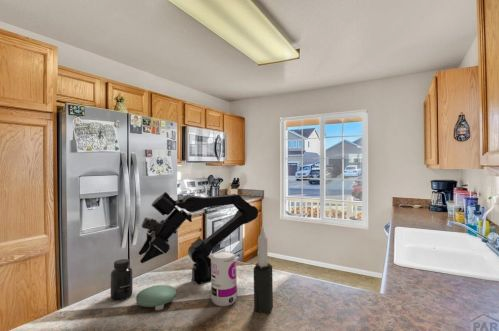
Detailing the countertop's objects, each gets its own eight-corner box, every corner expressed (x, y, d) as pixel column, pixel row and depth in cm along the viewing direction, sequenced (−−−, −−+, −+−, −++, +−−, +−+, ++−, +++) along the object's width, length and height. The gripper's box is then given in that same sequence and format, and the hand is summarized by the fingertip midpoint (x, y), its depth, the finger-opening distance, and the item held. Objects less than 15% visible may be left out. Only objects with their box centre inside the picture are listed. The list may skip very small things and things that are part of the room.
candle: (273, 305, 83) (272, 225, 83) (269, 314, 78) (268, 229, 78) (258, 303, 84) (257, 224, 84) (253, 311, 80) (251, 228, 80)
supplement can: (241, 297, 88) (240, 252, 88) (228, 309, 81) (228, 260, 81) (220, 292, 92) (219, 249, 92) (206, 304, 84) (206, 257, 84)
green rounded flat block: (170, 290, 94) (169, 282, 94) (180, 305, 84) (180, 295, 84) (133, 299, 88) (133, 290, 88) (139, 317, 77) (139, 307, 77)
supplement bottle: (124, 302, 86) (123, 265, 86) (105, 300, 88) (105, 264, 88) (137, 292, 93) (136, 258, 93) (119, 290, 94) (119, 257, 94)
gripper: (152, 206, 104) (122, 237, 99) (158, 213, 87) (122, 252, 82) (173, 223, 107) (144, 255, 102) (183, 234, 90) (149, 272, 85)
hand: (140, 258), depth 93 cm, fingers open, 9 cm apart
